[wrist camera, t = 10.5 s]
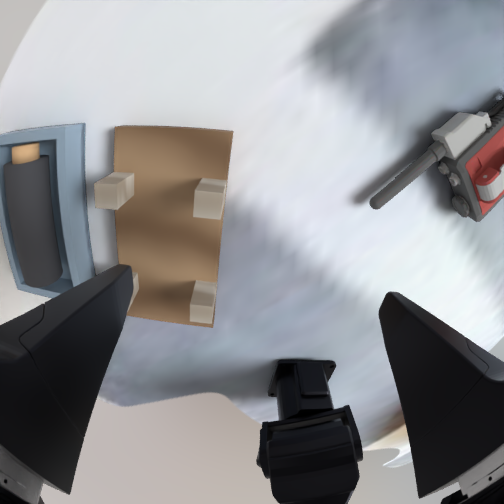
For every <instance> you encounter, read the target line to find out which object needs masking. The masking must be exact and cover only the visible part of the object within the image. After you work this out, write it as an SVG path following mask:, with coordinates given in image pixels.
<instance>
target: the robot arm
mask: <svg viewBox="0 0 504 504" xmlns="http://www.w3.org/2000/svg"><path fill="white" fill-rule="evenodd" d="M133 290H134V284H133V274H132V268H131V266H130V265H125V264H118V265H116V266H114V267H112V268H110V269H108V270H106V271H104V272H102V273H100V274H98V275H96V276H94V277H92V278H90V279H89V280H87V281H85V282H83V283H81V284H79V285H77V286H75V287H73V288H71V289H69V290H67V291H65V292H64V293H62V294H60V295H58V296H56V297H54V298H52V299H51V300H49V301H47V302H45V304H41V305H39V306H38V307H36V308H34V309H32V310H30V311H28V312H26V313H25V314H23V315H21V316H19V317H16V318H14V319H12V320H10V321H8V322H6V323H4V324H2V325H0V504H44V502H43V500H42V498H41V496H40V493H41V490H42V486H43V483H44V484H47V485H48V486H51V487H53V488H55V489H57V490H60V491H62V492H64V493H66V494H70V492H71V488H72V484H73V480H74V475H75V471H76V467H77V463H78V459H79V455H80V452H81V448H82V444H83V441H84V438H83V437H85V433H86V430H87V427H88V423H89V420H90V417H91V414H92V410H93V408H94V404H95V402H96V399H97V396H98V393H99V390H100V387H101V384H102V381H103V378H104V376H105V373H106V370H107V367H108V365H109V362H110V359H111V357H112V354H113V352H114V349H115V347H116V344H117V342H118V339H119V337H120V334H121V331H122V329H123V325H124V322H125V318H126V315H127V311H128V308H129V305H130V301H131V298H132V295H133ZM379 319H380V324H381V328H382V333H383V338H384V343H385V347H386V351H387V355H388V358H389V362H390V365H391V369H392V372H393V376H394V379H395V383H396V387H397V391H398V394H399V398H400V402H401V406H402V411H403V415H404V419H405V424H406V428H407V433H408V437H409V442H410V447H411V453H412V459H413V465H414V470H415V477H416V484H417V491H418V496H419V498H423V497H425V496H427V495H430V494H432V493H435V492H437V491H439V490H441V489H444V488H446V487H448V486H450V485H452V484H454V483H456V482H459V485H460V488H461V489H460V490H458V491H457V492H455V493H453V494H451V495H449V496H447V497H445V498H443V499H442V502H441V504H504V362H503V361H501V360H500V359H498V358H496V357H495V356H493V355H491V354H490V353H489V352H487V351H485V350H484V349H482V348H481V347H479V346H478V345H476V344H475V343H474V342H472V341H471V340H469V339H468V338H466V337H464V336H463V335H462V334H460V333H459V332H458V331H456V330H455V329H453V328H452V327H450V326H449V325H447V324H446V323H444V322H443V321H441V320H440V319H438V318H437V317H435V316H434V315H432V314H431V313H429V312H428V311H426V310H425V309H423V308H422V307H420V306H419V305H417V304H415V303H414V302H412V301H411V300H409V299H408V298H406V297H405V296H403V295H402V294H400V293H398V292H388V293H387V294H386V295H385V298H384V300H383V302H382V304H381V307H380V309H379ZM335 368H336V363H335V362H334V361H295V360H280V361H278V362H277V365H276V368H275V371H274V374H273V377H272V380H271V384H270V387H269V390H268V396H270V397H277V405H278V416H279V421H273V422H268V421H267V422H262V429H261V430H260V447H259V452H258V456H257V460H256V461H257V465H258V466H259V467H261V468H262V471H263V473H264V476H265V477H266V478H267V479H268V478H270V482H271V489H272V494H273V496H274V498H275V499H276V500H277V502H278V503H280V504H348V502H349V500H350V498H351V495H352V493H353V491H354V489H355V488H356V485H357V482H358V480H359V470H358V464H357V462H359V461H362V460H363V451H362V445H361V440H360V436H359V432H358V429H357V426H356V423H355V421H354V418H353V415H352V412H351V409H350V406H349V405H346V406H344V407H342V408H338V409H334V407H333V403H332V398H331V394H330V390H329V386H328V381H329V379H330V377H331V375H332V373H333V371H334V370H335Z"/></svg>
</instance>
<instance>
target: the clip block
mask: <svg viewBox="0 0 504 504" xmlns="http://www.w3.org/2000/svg"><path fill="white" fill-rule="evenodd" d="M232 138H233V131H227V130H217V129H205V128H191V127H173V126H117V127H115V138H114V172H113V173H111V174H109V175H108V176H106V177H104V178H103V179H101V180H99V181H97V182H96V183H94V192H95V208H101V209H113V210H115V224H116V238H117V250H118V260H119V264H125V265H130V266H131V268H132V274H133V284H134V290H133V295H132V298H131V301H130V305H129V308H128V311H127V315H128V316H133V317H139V318H145V319H152V320H158V321H165V322H172V323H179V324H187V325H194V326H203V327H211V328H213V324H214V315H215V302H216V290H217V278H218V267H219V256H220V245H221V235H222V225H223V215H224V206H225V197H226V188H227V179H228V170H229V162H230V154H231V146H232Z"/></svg>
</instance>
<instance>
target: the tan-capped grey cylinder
mask: <svg viewBox="0 0 504 504" xmlns="http://www.w3.org/2000/svg"><path fill="white" fill-rule="evenodd" d="M3 168H4V180H5V189H6V197H7V205H8V211H9V217H10V223H11V228H12V233H13V238H14V243H15V247H16V252H17V256H18V260H19V264H20V267H21V271H22V275H23V278H24V281H25V283H26V285H28V286H30V287H33V288H40V287H45V286H48V285H51V284H53V283H54V282H56V281H57V280H58V279H59V278H60V277H61V276H62V274H63V268H62V263H61V258H60V253H59V248H58V242H57V236H56V229H55V222H54V215H53V206H52V197H51V185H50V168H49V155H40V150H39V142H32V143H26V144H21V145H17V146H14V147H12V161H10V162H8V163H6V164H4V165H3Z"/></svg>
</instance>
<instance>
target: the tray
mask: <svg viewBox="0 0 504 504" xmlns="http://www.w3.org/2000/svg"><path fill="white" fill-rule="evenodd" d="M32 142H39V150H40V155H49V168H50V185H51V197H52V206H53V215H54V222H55V229H56V236H57V242H58V248H59V253H60V258H61V263H62V268H63V274H62V276H61V277H60V278H59V279H58V280H57V281H56V282H54V283H53V284H51V285H48V286H45V287H40V288H33V287H30V286H28V285H26V283H25V281H24V278H23V275H22V271H21V267H20V264H19V260H18V256H17V252H16V247H15V243H14V238H13V233H12V228H11V223H10V217H9V211H8V205H7V197H6V189H5V180H4V168H3V165H4V164H6V163H8V162H10V161H12V147H14V146H17V145H21V144H26V143H32ZM0 223H1V228H2V233H3V238H4V242H5V246H6V251H7V255H8V258H9V262H10V266H11V269H12V273H13V276H14V279H15V282H16V286H17V289H18V290H22V291H25V292H29V293H33V294H37V295H41V296H45V297H49V298H54V297H56V296H58V295H60V294H62V293H64V292H65V291H67V290H69V289H71V288H73V287H75V286H77V285H79V284H81V283H83V282H85V281H87V280H89V279H90V278H92V277H94V276H95V270H94V264H93V257H92V250H91V243H90V234H89V225H88V215H87V202H86V184H85V123H78V124H66V125H55V126H46V127H38V128H31V129H24V130H17V131H12V132H8V133H4V134H1V135H0Z"/></svg>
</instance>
